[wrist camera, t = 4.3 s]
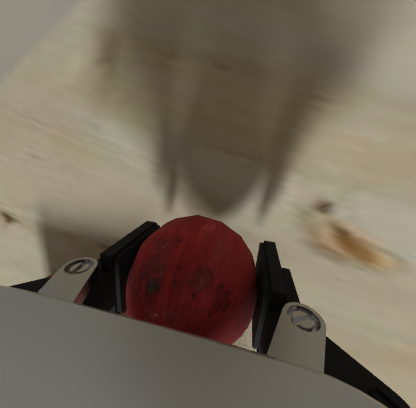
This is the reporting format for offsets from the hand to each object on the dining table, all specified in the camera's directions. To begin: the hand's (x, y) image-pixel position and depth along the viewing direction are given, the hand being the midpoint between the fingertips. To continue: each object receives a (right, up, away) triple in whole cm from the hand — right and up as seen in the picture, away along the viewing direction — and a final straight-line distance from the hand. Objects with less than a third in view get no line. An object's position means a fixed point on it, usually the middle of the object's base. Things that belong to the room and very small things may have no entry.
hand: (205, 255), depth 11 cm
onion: (0, +1, +2) cm, 2 cm away
